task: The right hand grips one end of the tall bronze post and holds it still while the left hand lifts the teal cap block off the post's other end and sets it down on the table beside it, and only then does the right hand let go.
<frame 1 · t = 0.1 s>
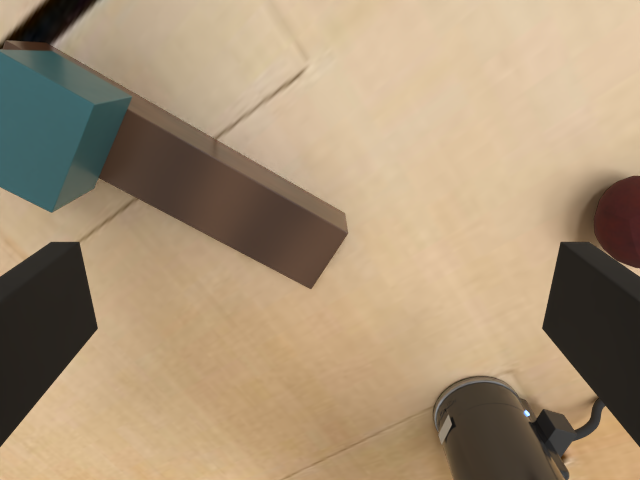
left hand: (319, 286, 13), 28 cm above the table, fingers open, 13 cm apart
dark maroon ball: (617, 207, 41), on the table
cap block: (74, 123, 33), point 5 cm above the table, touching tall bronze post
tall bronze post: (191, 163, 40), on the table, touching cap block
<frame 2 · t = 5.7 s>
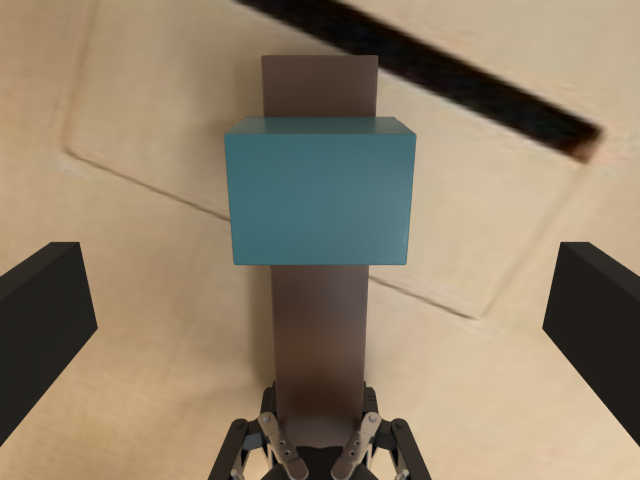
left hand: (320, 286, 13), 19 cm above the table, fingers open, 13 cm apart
cap block: (319, 171, 25), point 5 cm above the table, touching tall bronze post
tall bronze post: (319, 263, 33), on the table, touching cap block, right hand
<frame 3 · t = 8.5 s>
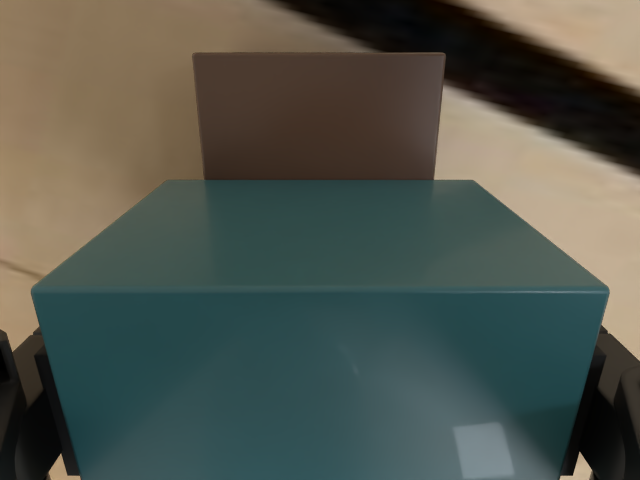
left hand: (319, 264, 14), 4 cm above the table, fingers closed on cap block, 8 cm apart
cap block: (320, 282, 13), point 5 cm above the table, touching tall bronze post, left hand
tall bronze post: (319, 389, 20), on the table, touching cap block, right hand
when the left hand's fingers open (2 cm above the table, at t = 14.3 s): cap block drops 3 cm, on the table.
when the right hand's fingers open (1 cm above the table, at t = 17.3 s): tall bronze post stays where it is, on the table.
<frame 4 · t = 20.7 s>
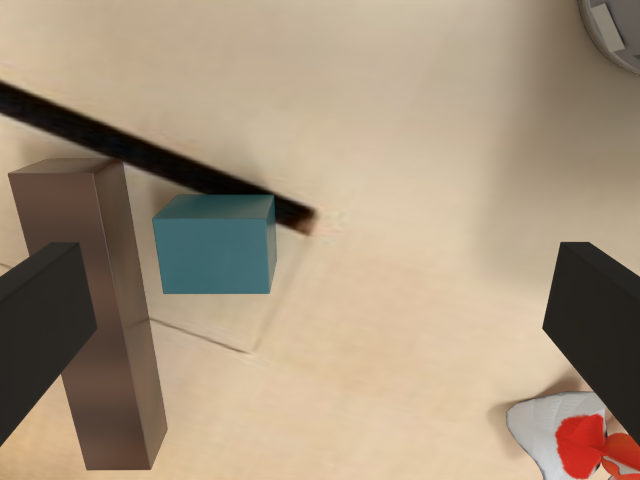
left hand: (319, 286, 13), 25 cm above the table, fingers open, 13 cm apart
fish: (570, 417, 46), on the table
cap block: (228, 228, 38), on the table
tall bronze post: (115, 311, 41), on the table
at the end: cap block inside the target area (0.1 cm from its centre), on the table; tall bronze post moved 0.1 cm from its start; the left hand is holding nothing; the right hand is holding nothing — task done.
